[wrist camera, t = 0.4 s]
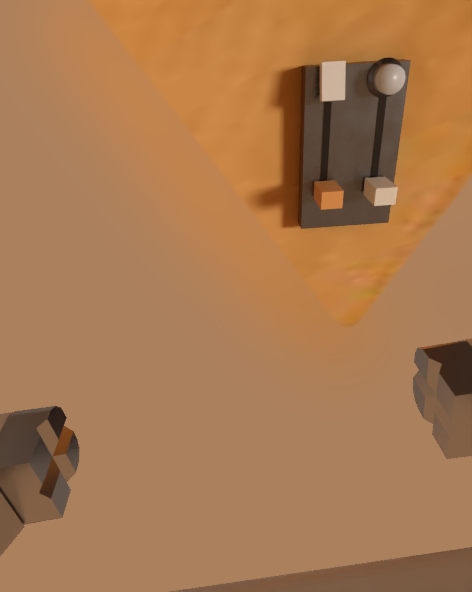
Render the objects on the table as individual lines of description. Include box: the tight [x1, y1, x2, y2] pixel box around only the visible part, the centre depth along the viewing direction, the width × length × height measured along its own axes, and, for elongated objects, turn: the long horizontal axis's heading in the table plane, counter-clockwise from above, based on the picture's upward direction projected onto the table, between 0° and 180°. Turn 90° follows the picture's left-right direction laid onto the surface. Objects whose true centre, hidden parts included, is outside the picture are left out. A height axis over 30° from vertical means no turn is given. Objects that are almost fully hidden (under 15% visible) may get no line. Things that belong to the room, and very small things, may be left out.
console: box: [298, 58, 410, 229], centre depth 51 cm, size 18×11×3 cm, turn 3°
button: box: [373, 63, 405, 95], centre depth 46 cm, size 3×3×2 cm
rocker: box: [320, 61, 346, 102], centre depth 45 cm, size 4×2×1 cm, turn 3°
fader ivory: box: [363, 177, 398, 206], centre depth 51 cm, size 2×2×4 cm
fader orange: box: [314, 180, 344, 210], centre depth 51 cm, size 2×2×4 cm
